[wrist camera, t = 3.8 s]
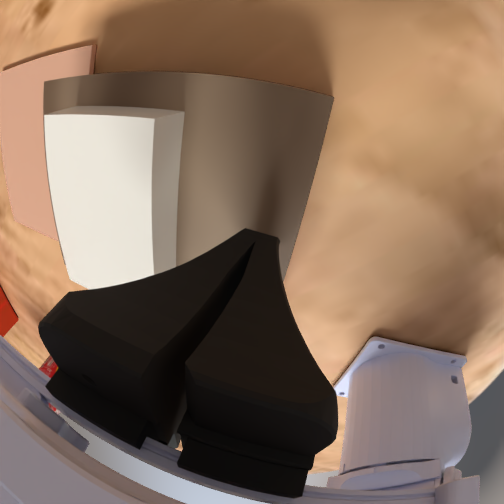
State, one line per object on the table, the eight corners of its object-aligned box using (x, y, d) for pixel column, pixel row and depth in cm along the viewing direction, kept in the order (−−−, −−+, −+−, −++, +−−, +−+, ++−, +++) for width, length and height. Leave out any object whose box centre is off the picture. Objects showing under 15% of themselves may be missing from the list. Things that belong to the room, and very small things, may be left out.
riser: (332, 96, 11) (333, 97, 8) (277, 294, 18) (263, 342, 15) (93, 74, 13) (44, 81, 9) (99, 235, 19) (64, 264, 16)
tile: (184, 111, 9) (154, 118, 8) (176, 294, 14) (158, 320, 13) (76, 106, 10) (44, 115, 8) (90, 260, 15) (70, 279, 13)
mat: (96, 44, 12) (92, 44, 11) (102, 256, 21) (99, 259, 20) (2, 71, 13) (-1, 72, 13) (16, 218, 22) (14, 220, 22)
